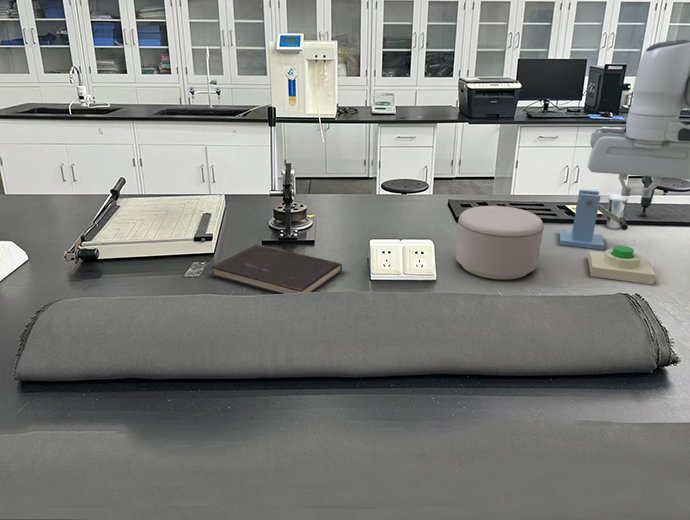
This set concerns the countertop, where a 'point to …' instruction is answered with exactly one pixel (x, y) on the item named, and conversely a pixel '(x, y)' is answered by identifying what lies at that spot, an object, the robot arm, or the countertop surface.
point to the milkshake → (616, 209)
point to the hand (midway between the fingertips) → (635, 196)
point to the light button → (623, 252)
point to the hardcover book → (277, 270)
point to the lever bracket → (584, 223)
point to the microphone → (646, 201)
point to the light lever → (613, 216)
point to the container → (498, 241)
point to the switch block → (620, 267)
